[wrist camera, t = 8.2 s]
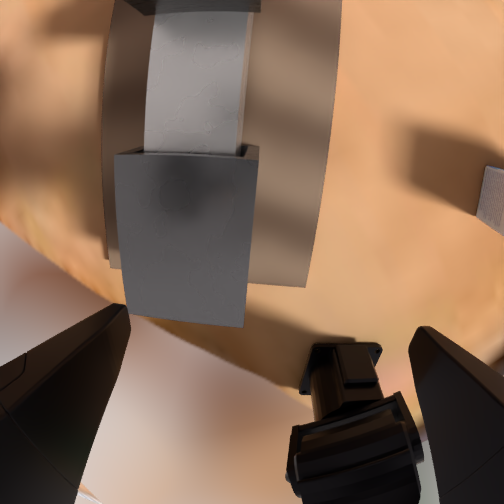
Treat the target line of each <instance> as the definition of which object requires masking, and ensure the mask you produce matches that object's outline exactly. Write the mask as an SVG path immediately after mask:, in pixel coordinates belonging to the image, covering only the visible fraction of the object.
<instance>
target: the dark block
mask: <svg viewBox="0 0 504 504" xmlns="http://www.w3.org/2000/svg"><path fill="white" fill-rule="evenodd" d="M124 1H125V2H127V3H128V4H129V5H131V6H132V7H133V8H135V9H136V10H138V11H139V12H140V13H142V14H143V15H144V16H148V15H155V20H154V27H153V35H152V42H151V51H150V60H149V70H148V81H147V94H146V110H145V132H144V153H183V154H206V155H222V156H237V157H240V154H241V142H242V130H243V118H244V107H245V96H246V85H247V75H248V64H249V54H250V44H251V35H252V25H253V16H254V13H261V5H262V0H124Z"/></svg>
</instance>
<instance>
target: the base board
mask: <svg viewBox="0 0 504 504" xmlns="http://www.w3.org/2000/svg"><path fill="white" fill-rule="evenodd" d="M341 11H342V0H262V5H261V13H254V16H253V25H252V35H251V44H250V54H249V64H248V75H247V85H246V96H245V107H244V118H243V130H242V142H241V145H251V146H260V149H259V165H258V176H257V187H256V197H255V208H254V218H253V229H252V240H251V250H250V261H249V272H248V283H254V284H266V285H278V286H290V287H303V288H305V287H306V282H307V277H308V272H309V267H310V261H311V256H312V251H313V245H314V240H315V234H316V228H317V222H318V217H319V210H320V204H321V198H322V192H323V185H324V179H325V172H326V165H327V158H328V150H329V143H330V135H331V127H332V118H333V109H334V100H335V90H336V80H337V69H338V57H339V44H340V29H341ZM154 20H155V15H148V16H144V15H143V14H142V13H140V12H139V11H138V10H136V9H135V8H133V7H132V6H131V5H129V4H128V3H127V2H125V1H124V0H115V4H114V9H113V14H112V20H111V26H110V33H109V39H108V47H107V55H106V64H105V75H104V87H103V104H102V138H101V151H102V186H103V203H104V216H105V228H106V237H107V246H108V255H109V262H110V268H114V269H121V260H120V251H119V242H118V231H117V218H116V202H115V179H114V155H115V154H118V153H121V152H124V151H127V150H131V149H134V148H137V147H140V146H144V132H145V110H146V94H147V81H148V70H149V60H150V51H151V42H152V35H153V27H154Z"/></svg>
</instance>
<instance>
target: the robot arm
mask: <svg viewBox="0 0 504 504" xmlns="http://www.w3.org/2000/svg"><path fill="white" fill-rule="evenodd" d="M130 332H131V325H130V319H129V314H128V309H127V306H126V305H123V304H117V303H113V304H111V305H109V306H107V307H106V308H104V309H102V310H100V311H98V312H97V313H95V314H93V315H91V316H89V317H87V318H86V319H84V320H83V321H80V322H79V323H77V324H75V325H73V326H72V327H70V328H68V329H67V330H64V331H63V332H61V333H59V334H57V335H55V336H54V337H52V338H50V339H49V340H47V341H45V342H43V343H41V344H40V345H38V346H36V347H35V348H33V349H31V350H29V351H28V352H27V353H24V354H22V355H20V356H19V357H17V358H15V359H13V360H12V361H10V362H8V363H6V364H4V365H3V366H0V504H74V503H75V499H76V496H77V493H78V490H77V489H79V485H80V482H81V479H82V475H83V472H84V469H85V466H86V463H87V460H88V457H89V454H90V451H91V448H92V445H93V442H94V439H95V436H96V433H97V430H98V428H99V425H100V422H101V420H102V417H103V414H104V412H105V409H106V406H107V404H108V401H109V398H110V396H111V393H112V391H113V388H114V386H115V383H116V380H117V378H118V375H119V372H120V368H121V365H122V361H123V358H124V354H125V350H126V347H127V344H128V340H129V337H130ZM316 349H318V350H316ZM377 349H378V350H377ZM382 350H383V349H382V347H381V345H379V344H321V343H317V344H314V345H312V347H311V349H310V353H309V356H308V360H307V363H306V366H305V370H304V373H303V376H302V380H301V383H300V386H299V394H301V395H311V398H312V405H313V413H314V420H315V422H311V423H308V424H304V425H296V426H293V427H292V434H291V436H290V444H289V452H288V460H287V468H286V471H287V472H286V475H285V478H286V480H287V481H288V482H289V483H291V486H292V489H293V491H294V493H295V495H296V496H297V497H299V498H302V502H303V504H418V503H419V500H420V492H421V485H420V480H419V475H418V471H417V467H416V464H419V463H421V462H424V453H423V448H422V444H421V440H420V436H419V433H418V430H417V427H416V425H415V422H414V420H413V418H412V416H411V413H410V411H409V409H408V407H407V405H406V403H405V400H404V398H403V396H402V394H401V392H400V391H398V392H396V393H393V394H394V395H391V396H389V397H386V398H384V396H383V393H382V390H381V387H380V384H379V381H378V380H379V378H378V375H377V373H376V370H375V366H376V364H377V362H378V359H379V357H380V355H381V353H382ZM408 353H409V358H410V363H411V368H412V373H413V378H414V384H415V389H416V393H417V397H418V401H419V405H420V408H421V412H422V416H423V420H424V424H425V428H426V432H427V437H428V441H429V445H430V449H431V454H432V460H433V465H434V470H435V476H436V481H437V487H438V494H439V501H440V504H504V377H503V376H502V375H501V374H499V373H498V372H496V371H495V370H493V369H492V368H491V367H489V366H488V365H486V364H485V363H483V362H482V361H481V360H479V359H478V358H476V357H475V356H473V355H472V354H470V353H469V352H468V351H466V350H465V349H463V348H462V347H460V346H459V345H457V344H456V343H454V342H453V341H451V340H450V339H448V338H447V337H446V336H444V335H443V334H441V333H440V332H438V331H437V330H435V329H434V328H432V327H430V326H420V327H418V328H417V330H416V332H415V334H414V336H413V338H412V340H411V342H410V345H409V348H408Z"/></svg>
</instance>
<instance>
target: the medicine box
mask: <svg viewBox="0 0 504 504" xmlns="http://www.w3.org/2000/svg"><path fill="white" fill-rule="evenodd" d="M476 217H477V218H478V219H479V220H481V221H482V222H484V223H485V224H486V225H488V226H489V227H491V228H492V229H494V230H495V231H497V232H498V233H500V234H501V235H503V236H504V169H500V168H496V167H493V166H488V165H487V166H486V167H485V171H484V177H483V182H482V187H481V193H480V198H479V203H478V208H477V213H476Z"/></svg>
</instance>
